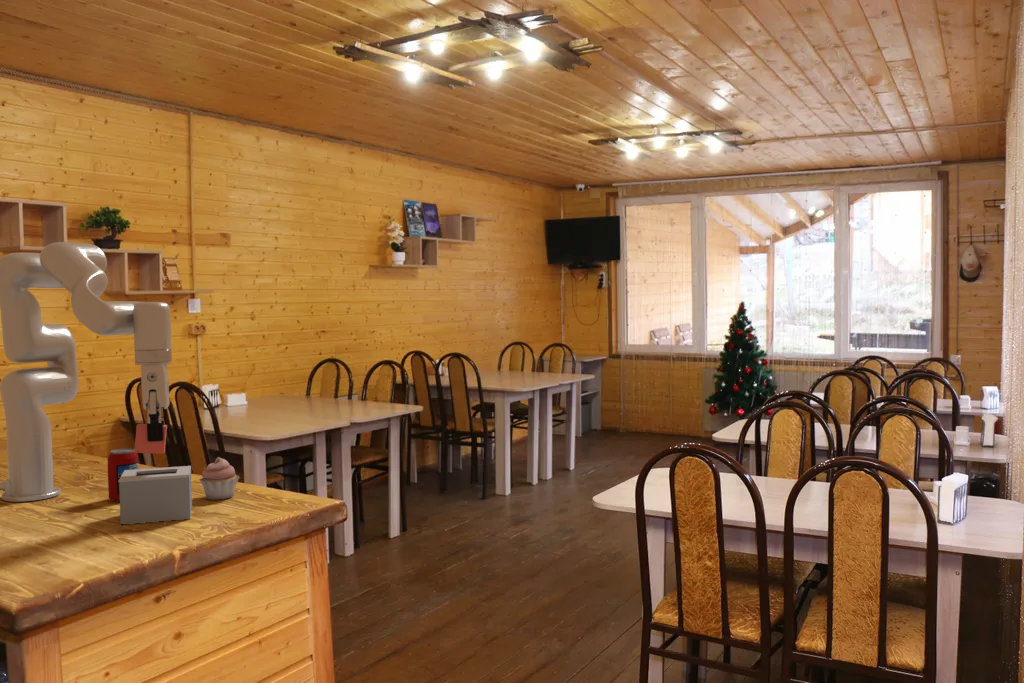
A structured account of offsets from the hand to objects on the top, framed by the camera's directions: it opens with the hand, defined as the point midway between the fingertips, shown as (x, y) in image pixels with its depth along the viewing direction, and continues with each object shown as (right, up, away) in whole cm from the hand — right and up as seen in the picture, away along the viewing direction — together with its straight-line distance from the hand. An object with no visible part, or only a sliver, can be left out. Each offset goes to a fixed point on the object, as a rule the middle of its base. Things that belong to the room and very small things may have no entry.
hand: (156, 439), depth 182 cm
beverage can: (-15, -17, +17) cm, 28 cm away
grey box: (0, -17, +1) cm, 17 cm away
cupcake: (+8, -17, +19) cm, 26 cm away
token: (-1, -3, 0) cm, 3 cm away
